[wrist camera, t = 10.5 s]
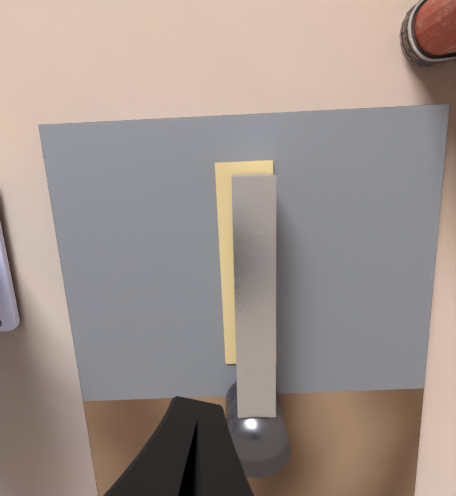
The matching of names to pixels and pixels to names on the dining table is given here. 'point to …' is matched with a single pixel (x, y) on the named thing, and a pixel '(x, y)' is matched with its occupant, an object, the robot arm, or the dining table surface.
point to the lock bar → (255, 329)
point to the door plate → (221, 247)
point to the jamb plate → (290, 441)
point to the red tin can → (430, 32)
